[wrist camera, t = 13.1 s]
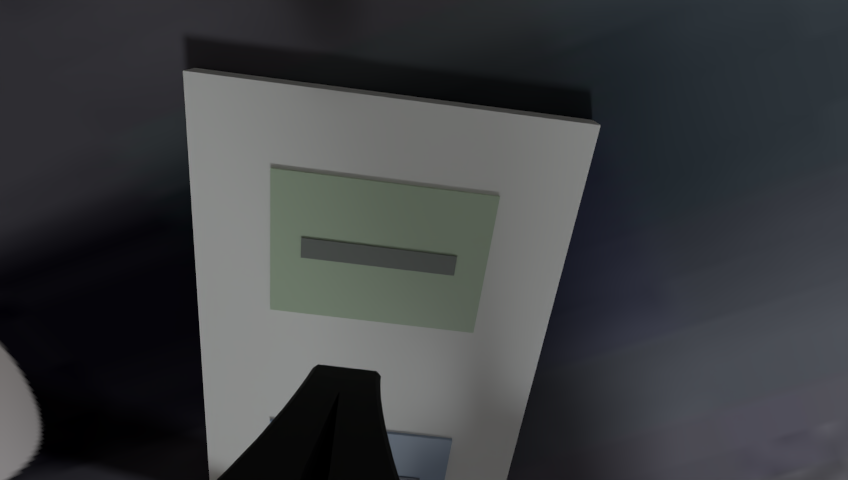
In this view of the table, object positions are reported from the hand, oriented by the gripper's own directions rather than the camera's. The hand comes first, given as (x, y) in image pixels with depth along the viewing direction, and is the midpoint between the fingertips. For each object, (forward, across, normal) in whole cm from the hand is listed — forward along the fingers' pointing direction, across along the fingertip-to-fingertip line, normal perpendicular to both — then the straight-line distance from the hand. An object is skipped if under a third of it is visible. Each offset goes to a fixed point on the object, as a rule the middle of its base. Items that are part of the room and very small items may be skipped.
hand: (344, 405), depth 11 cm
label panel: (+7, 0, +6) cm, 10 cm away
